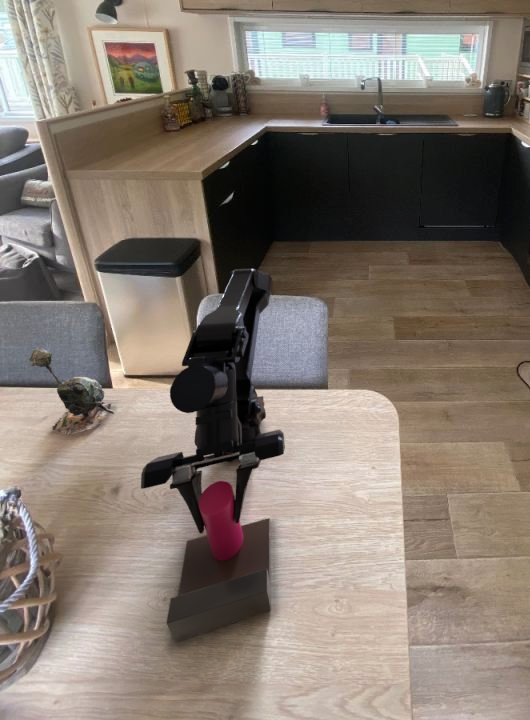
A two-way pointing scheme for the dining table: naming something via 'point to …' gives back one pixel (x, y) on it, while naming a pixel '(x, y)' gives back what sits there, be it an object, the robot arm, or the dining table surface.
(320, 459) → the dining table surface
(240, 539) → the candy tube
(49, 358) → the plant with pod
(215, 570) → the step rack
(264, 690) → the dining table surface
